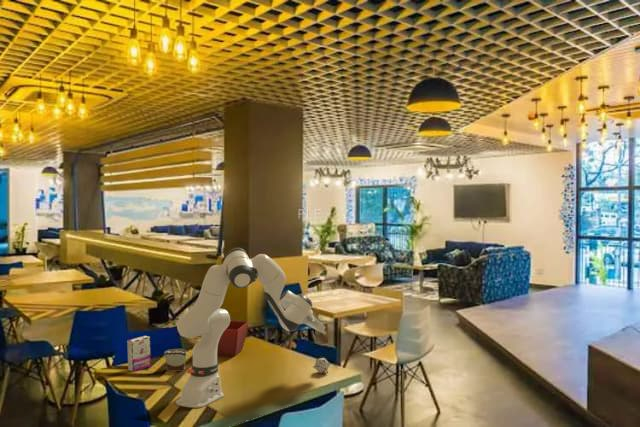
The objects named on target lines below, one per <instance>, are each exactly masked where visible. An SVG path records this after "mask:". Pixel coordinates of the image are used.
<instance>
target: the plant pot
mask: <svg viewBox="0 0 640 427" xmlns="http://www.w3.org/2000/svg"><path fill="white" fill-rule="evenodd" d="M248 326H249V321H241V320H230V324H229V326H228V327H227V328H226V330H225V331H224V332H223V334H222V335H221V337H220V340H219V343H218V348H217V356H220V357H222V356H223V357H236V356H237V355H238V354H240V352H242V350H243V348H244V345H245V343H246V342H245V341H246V337H247V332H248Z"/></svg>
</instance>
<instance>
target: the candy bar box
mask: <svg viewBox="0 0 640 427" xmlns="http://www.w3.org/2000/svg"><path fill="white" fill-rule="evenodd" d="M126 343H127V367H128V368H127V370H128V372H129V371H130V372H132V373H134V372H137V371H141V370H144V369H148V368H150V367H152V356H151V354H152V353H151V352H152V351H151V336H149V335H148V336H147V335H143V336H139V337H135V338H132V339H128V340H127V341H126Z"/></svg>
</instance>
